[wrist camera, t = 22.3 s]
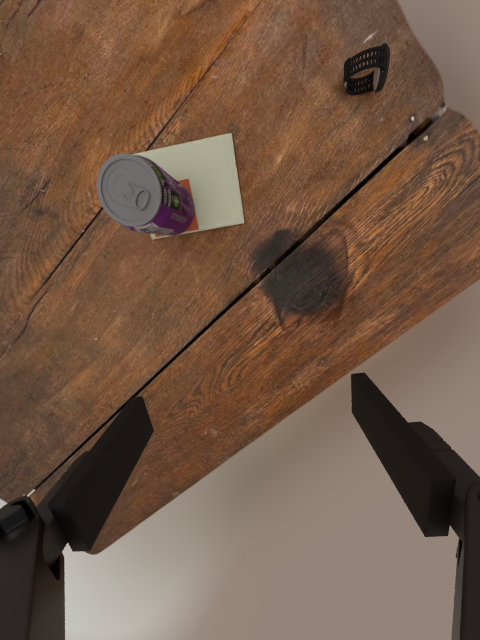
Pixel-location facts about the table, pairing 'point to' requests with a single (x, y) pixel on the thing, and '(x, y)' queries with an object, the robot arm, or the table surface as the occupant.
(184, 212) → the beverage can
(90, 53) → the table surface
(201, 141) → the mat
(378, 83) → the black strap with disc
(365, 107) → the table surface
